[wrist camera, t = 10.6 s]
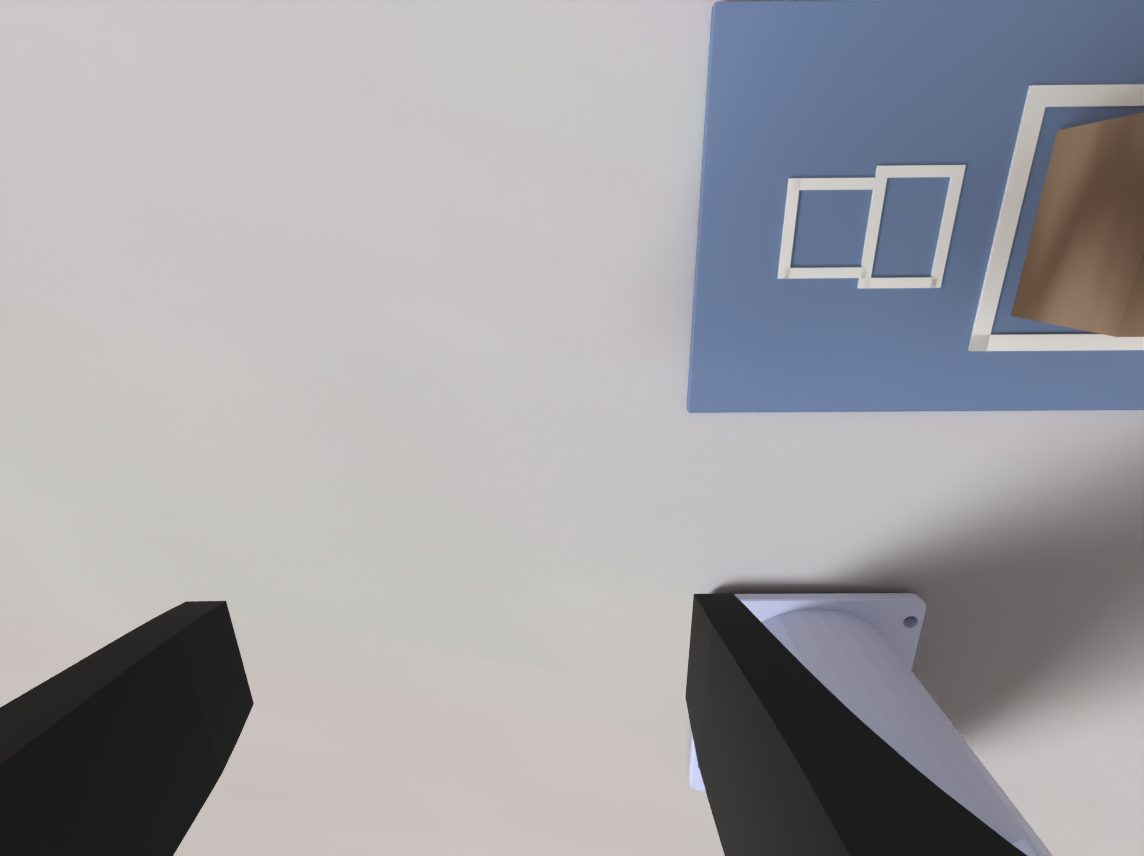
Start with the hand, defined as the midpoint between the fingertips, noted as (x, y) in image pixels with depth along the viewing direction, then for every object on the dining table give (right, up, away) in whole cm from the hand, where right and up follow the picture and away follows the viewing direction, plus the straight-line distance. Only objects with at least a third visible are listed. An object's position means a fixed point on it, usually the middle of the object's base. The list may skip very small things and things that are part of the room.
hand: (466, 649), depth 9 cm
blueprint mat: (+13, +9, +8) cm, 18 cm away
